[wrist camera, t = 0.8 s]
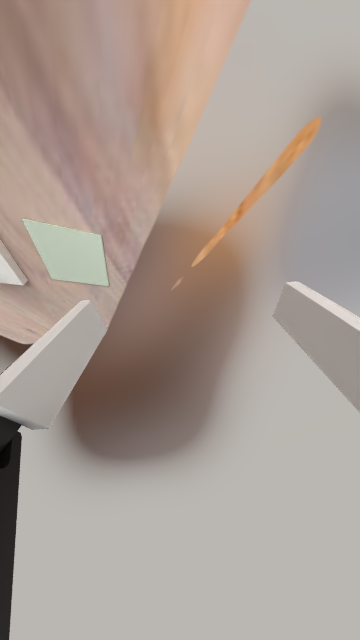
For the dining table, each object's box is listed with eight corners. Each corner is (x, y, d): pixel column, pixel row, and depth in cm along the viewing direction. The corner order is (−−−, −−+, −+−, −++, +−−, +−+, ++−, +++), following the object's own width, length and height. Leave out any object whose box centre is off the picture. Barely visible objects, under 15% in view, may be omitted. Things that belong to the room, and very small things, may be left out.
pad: (23, 218, 26) (21, 219, 25) (101, 235, 29) (100, 236, 29) (53, 277, 36) (52, 278, 35) (109, 285, 39) (108, 286, 39)
